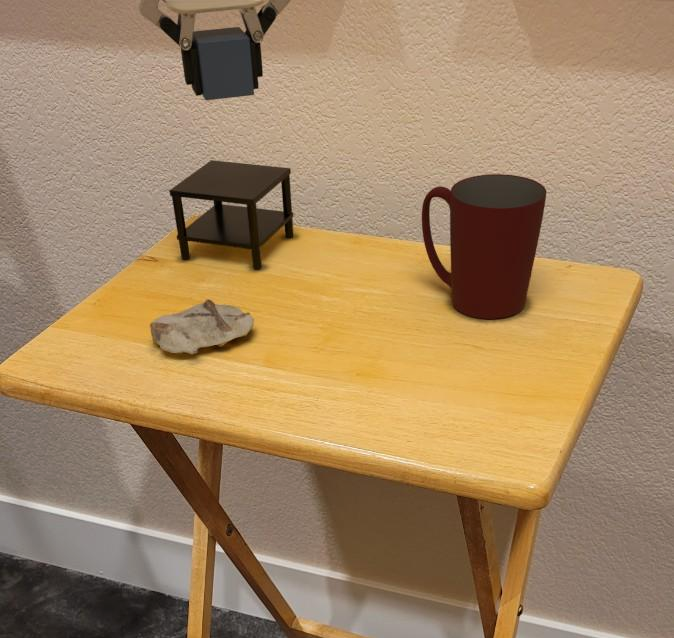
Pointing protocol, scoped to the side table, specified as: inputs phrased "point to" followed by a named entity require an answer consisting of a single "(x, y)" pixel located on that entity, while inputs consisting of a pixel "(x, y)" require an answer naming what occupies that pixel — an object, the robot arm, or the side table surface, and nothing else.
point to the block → (224, 63)
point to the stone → (200, 327)
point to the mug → (489, 241)
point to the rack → (233, 207)
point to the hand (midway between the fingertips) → (224, 86)
